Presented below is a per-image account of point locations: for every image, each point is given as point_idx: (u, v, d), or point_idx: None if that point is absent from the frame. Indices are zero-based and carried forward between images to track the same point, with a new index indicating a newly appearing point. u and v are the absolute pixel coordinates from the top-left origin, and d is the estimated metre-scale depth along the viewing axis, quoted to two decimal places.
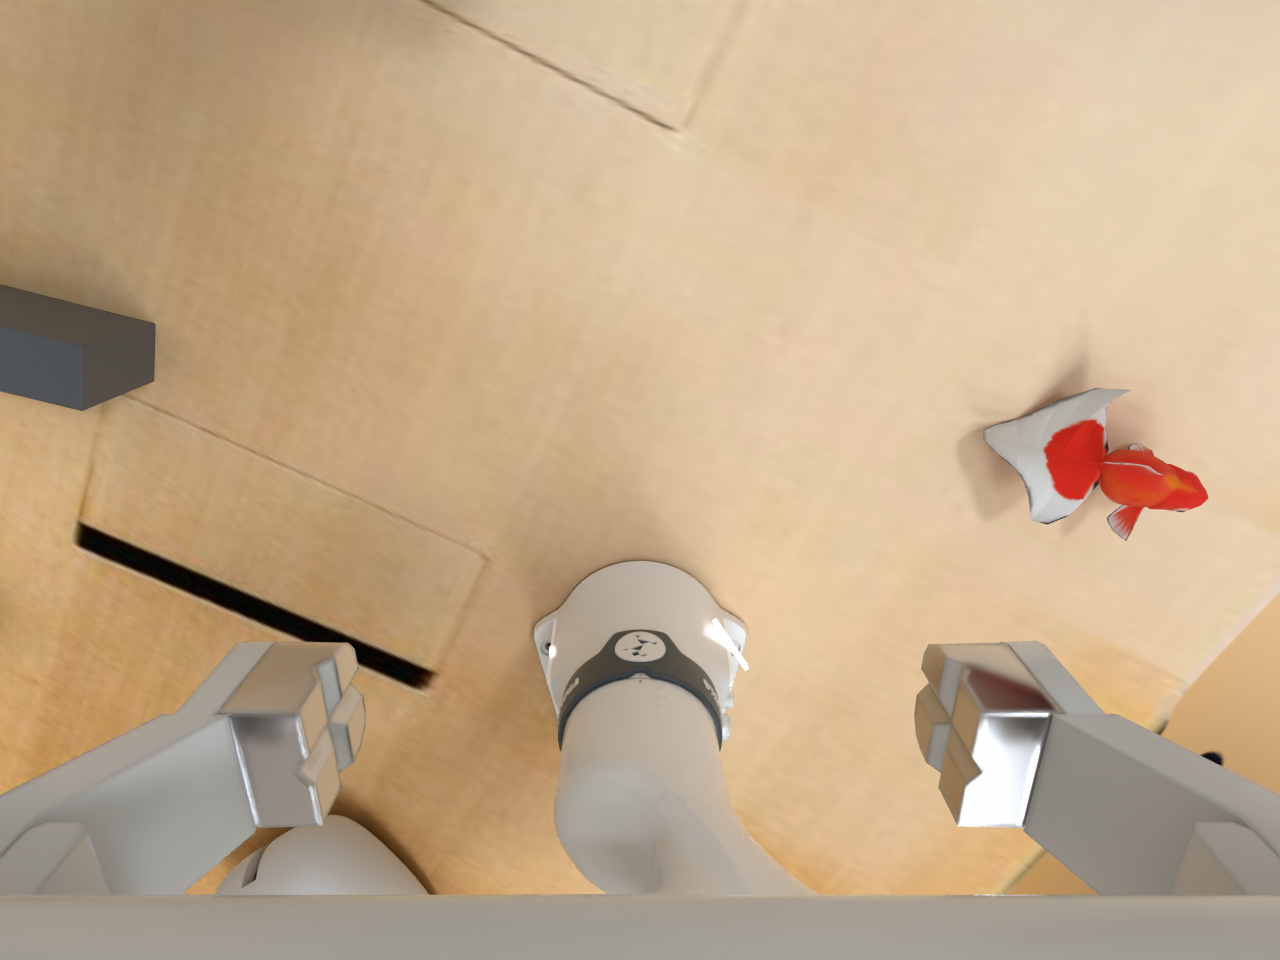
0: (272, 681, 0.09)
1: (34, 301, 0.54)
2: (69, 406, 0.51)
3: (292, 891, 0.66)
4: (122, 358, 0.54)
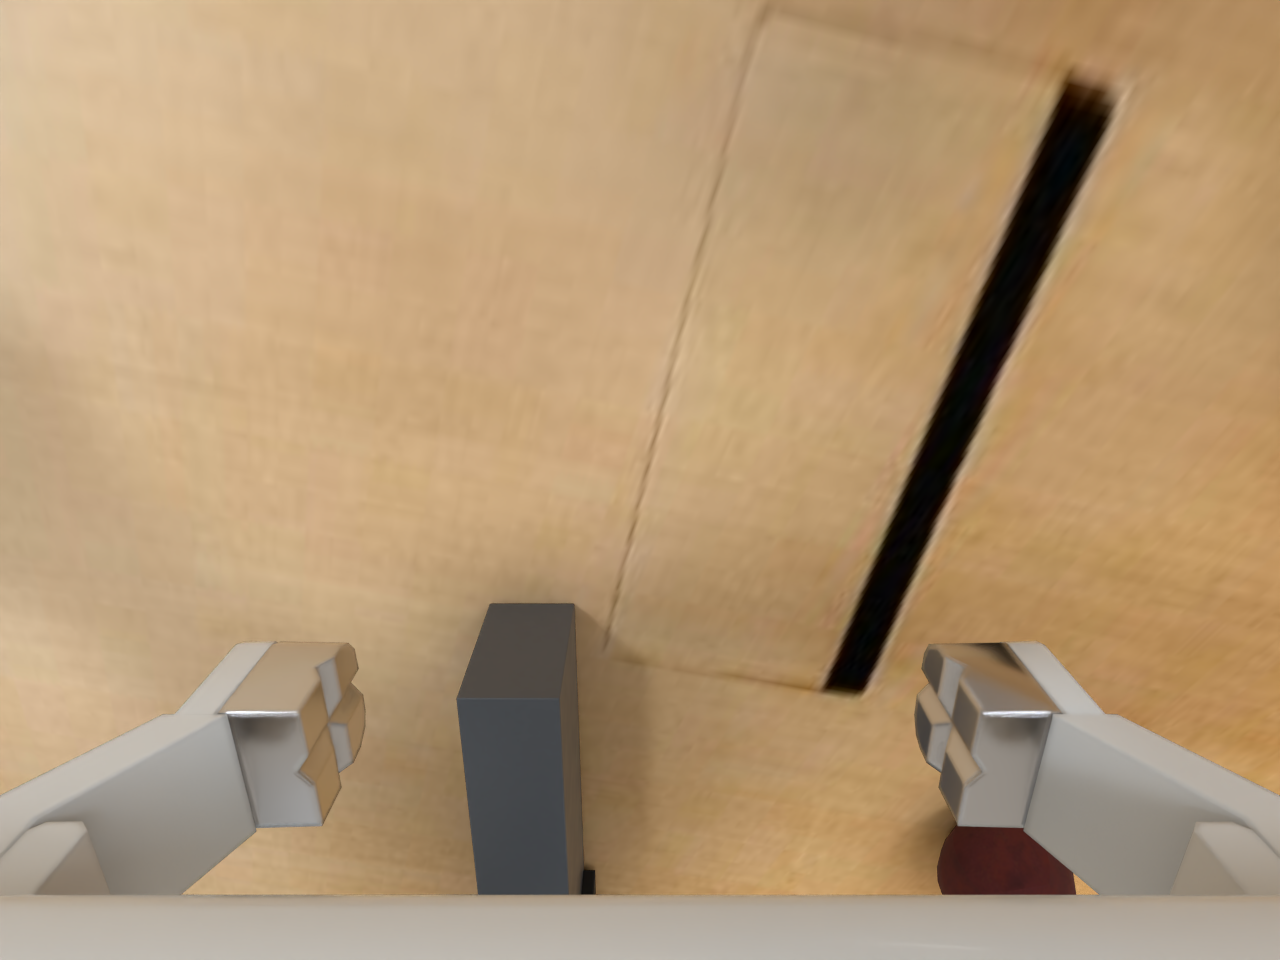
0: (272, 681, 0.09)
1: None
2: (556, 713, 0.34)
3: None
4: (513, 643, 0.37)
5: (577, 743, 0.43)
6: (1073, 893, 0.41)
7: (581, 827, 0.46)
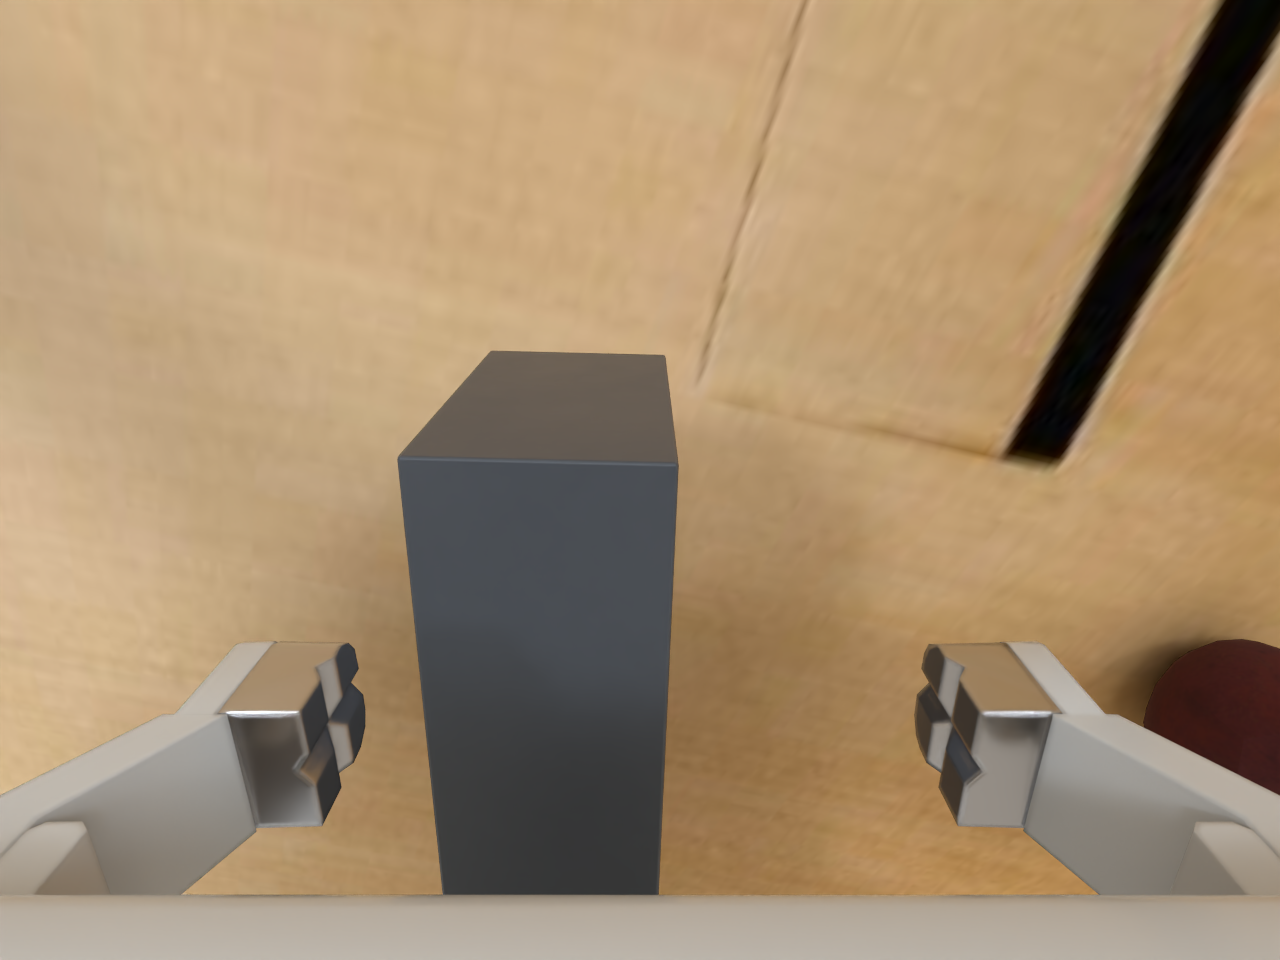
0: (272, 681, 0.09)
1: None
2: (666, 509, 0.13)
3: None
4: (544, 390, 0.16)
5: None
6: None
7: None
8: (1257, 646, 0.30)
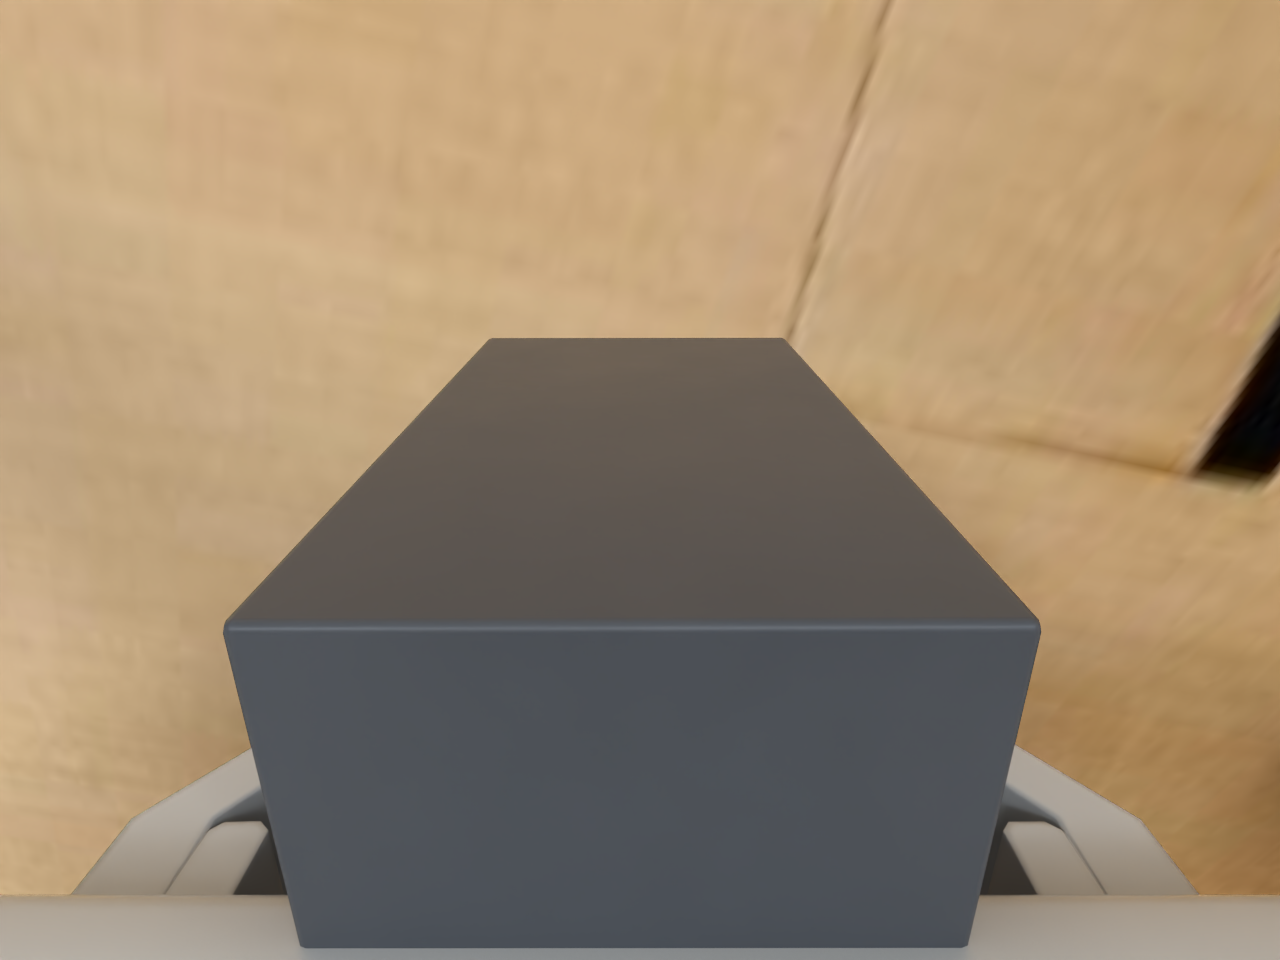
0: None
1: None
2: (994, 742, 0.04)
3: None
4: (596, 406, 0.08)
5: None
6: None
7: None
8: None
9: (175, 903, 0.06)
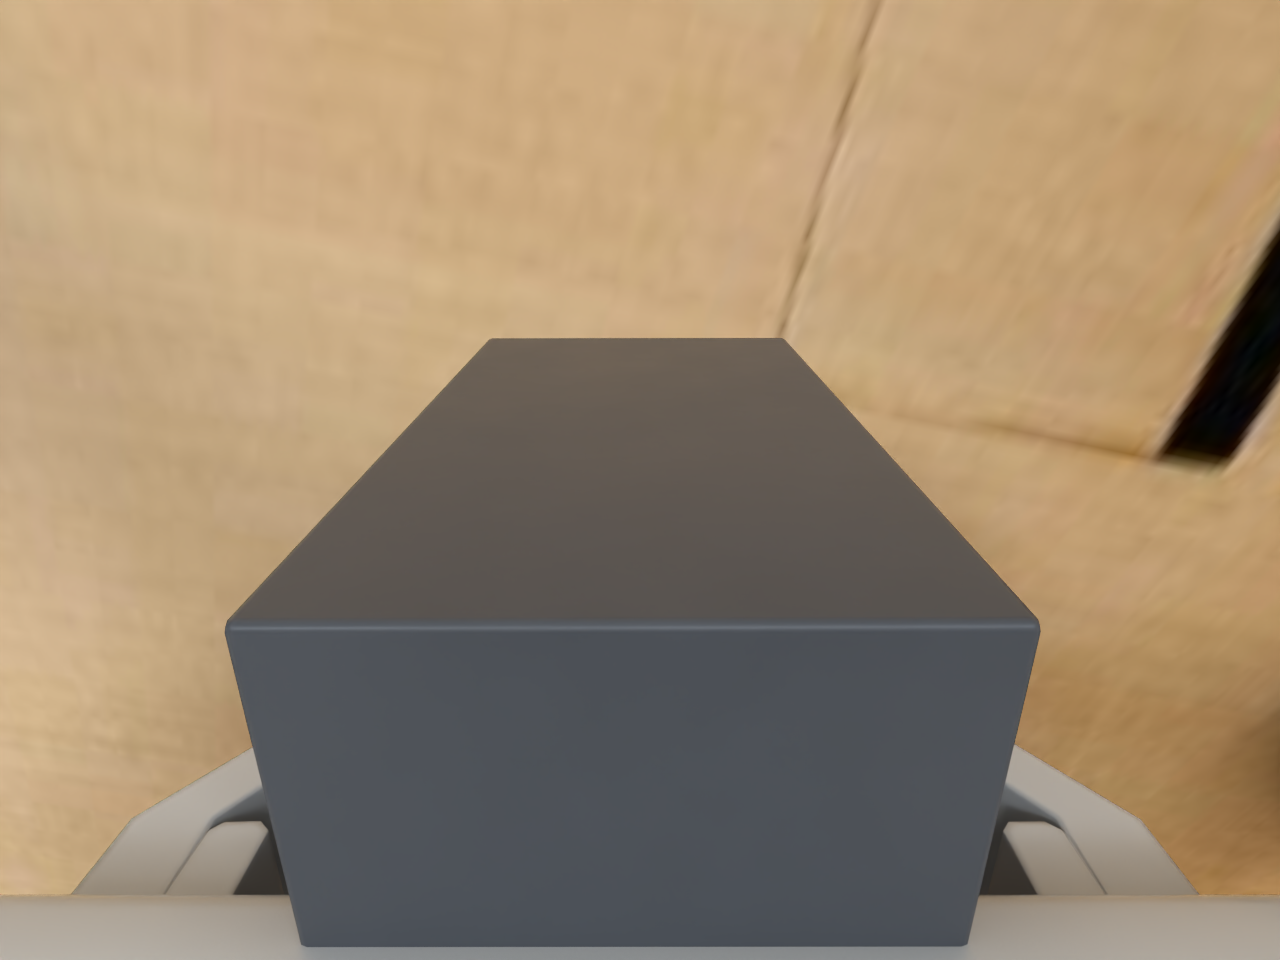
0: None
1: None
2: (991, 742, 0.04)
3: None
4: (596, 407, 0.08)
5: None
6: None
7: None
8: None
9: (175, 903, 0.06)
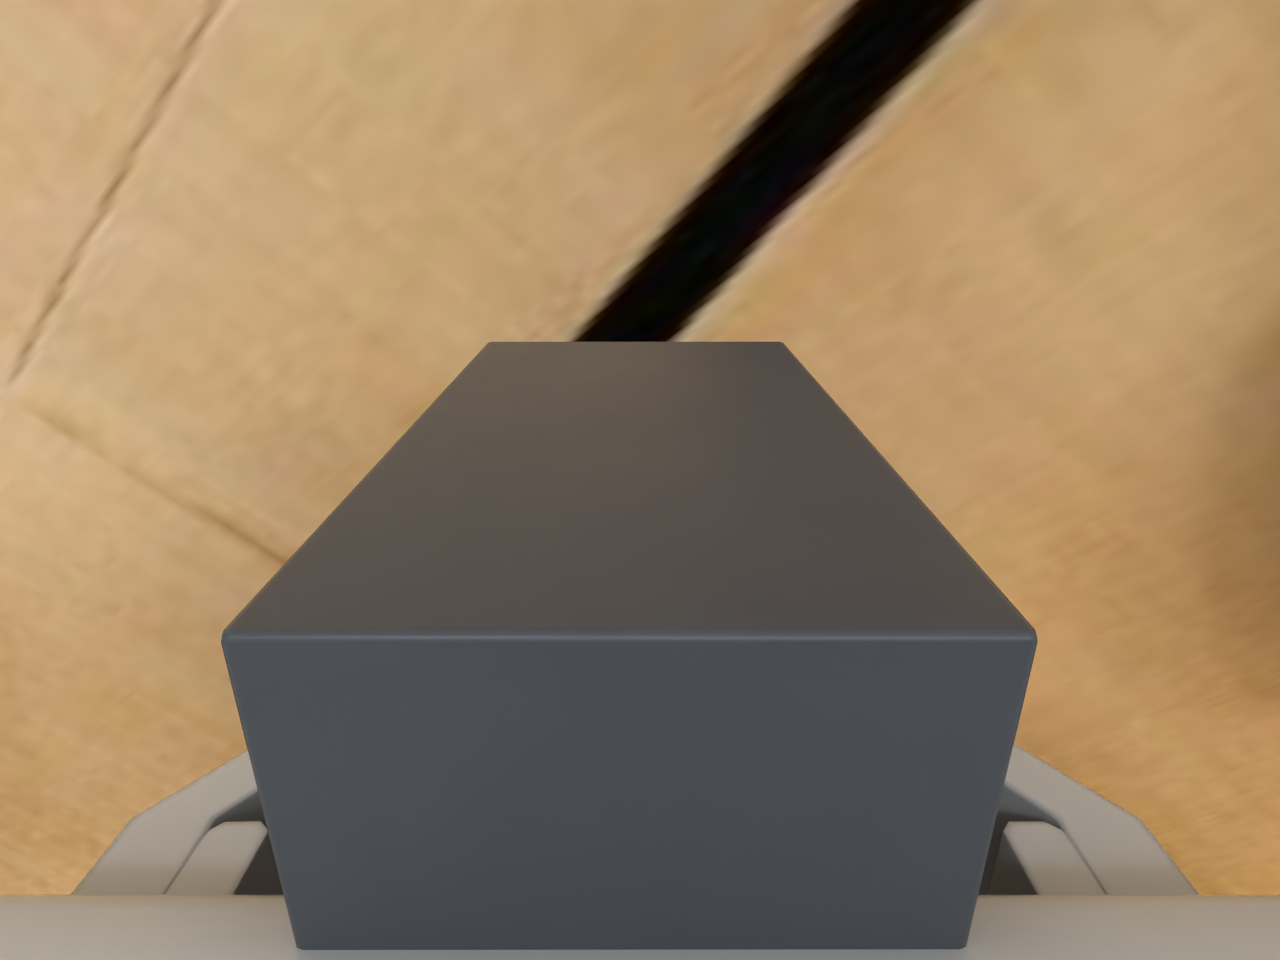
0: None
1: None
2: (990, 751, 0.04)
3: None
4: (594, 412, 0.08)
5: None
6: None
7: None
8: None
9: (175, 903, 0.06)
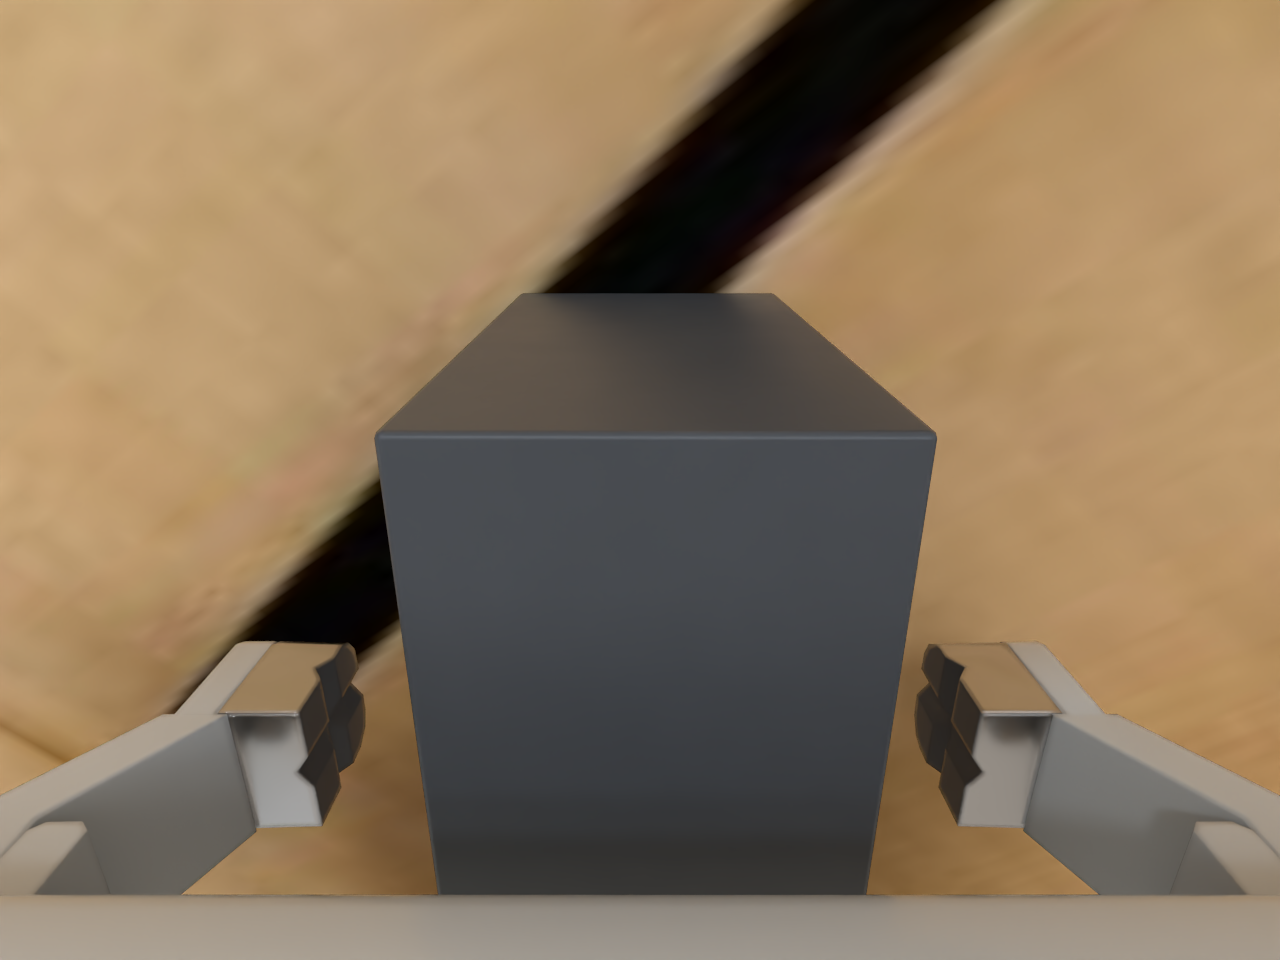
0: (272, 681, 0.09)
1: None
2: (907, 525, 0.06)
3: None
4: (618, 333, 0.10)
5: None
6: None
7: None
8: None
9: (175, 903, 0.06)
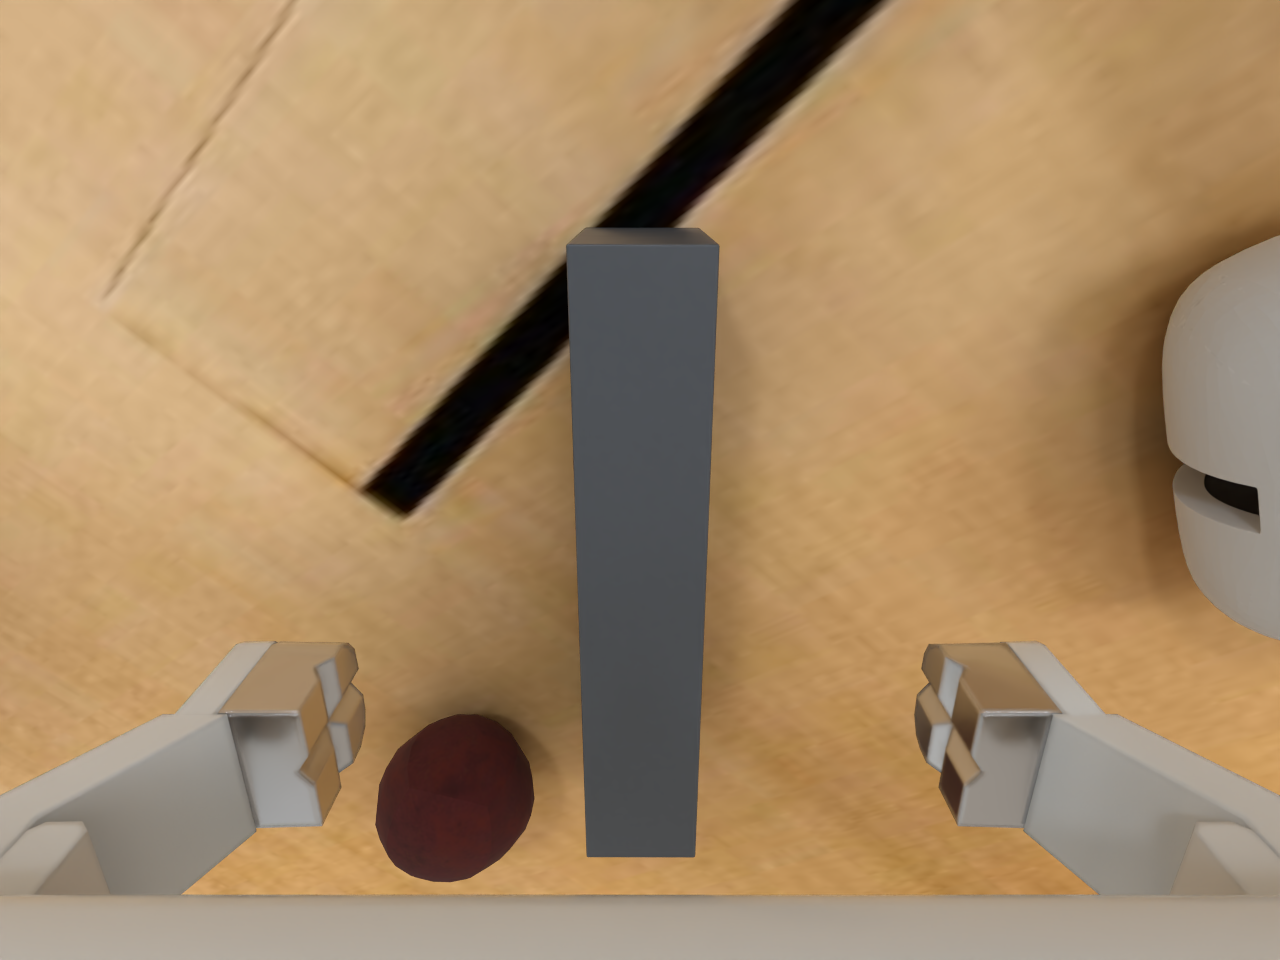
0: (272, 681, 0.09)
1: None
2: (713, 272, 0.23)
3: None
4: (630, 234, 0.26)
5: None
6: (513, 832, 0.35)
7: None
8: (489, 728, 0.36)
9: (175, 903, 0.06)
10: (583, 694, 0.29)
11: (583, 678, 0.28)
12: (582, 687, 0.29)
